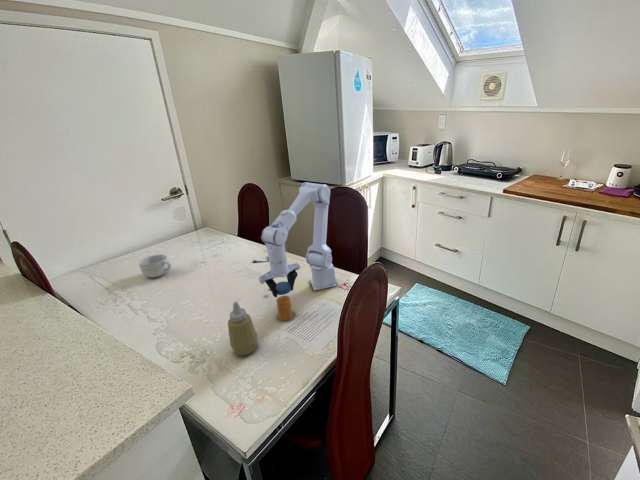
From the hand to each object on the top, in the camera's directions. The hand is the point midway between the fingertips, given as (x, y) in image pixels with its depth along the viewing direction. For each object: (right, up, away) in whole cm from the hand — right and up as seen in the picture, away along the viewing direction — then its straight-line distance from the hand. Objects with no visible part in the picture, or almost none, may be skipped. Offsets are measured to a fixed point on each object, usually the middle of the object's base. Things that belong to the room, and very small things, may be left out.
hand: (283, 292), depth 112 cm
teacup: (-66, +2, +31) cm, 73 cm away
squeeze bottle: (-8, -16, -12) cm, 22 cm away
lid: (0, +2, -1) cm, 3 cm away
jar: (0, -9, +2) cm, 9 cm away
